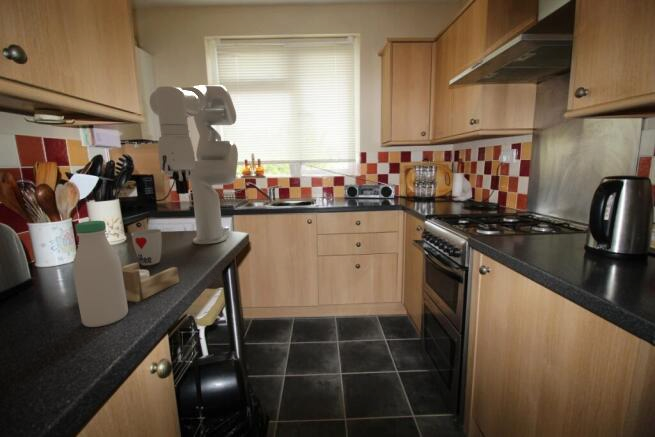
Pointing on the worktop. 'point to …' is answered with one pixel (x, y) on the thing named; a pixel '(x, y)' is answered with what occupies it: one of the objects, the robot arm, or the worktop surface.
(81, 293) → the milk bottle
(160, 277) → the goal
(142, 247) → the cup
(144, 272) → the cream egg shape
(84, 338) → the worktop surface
